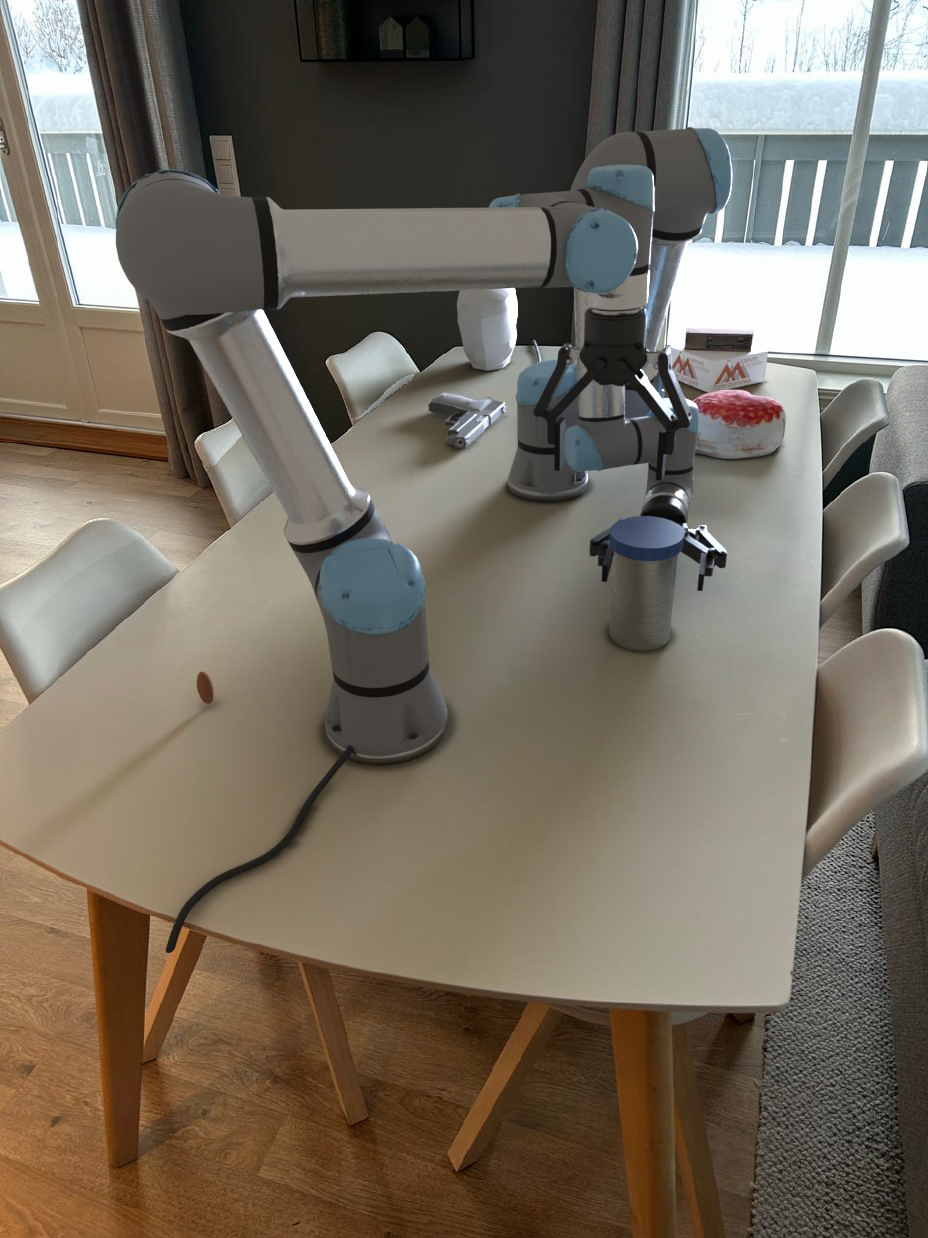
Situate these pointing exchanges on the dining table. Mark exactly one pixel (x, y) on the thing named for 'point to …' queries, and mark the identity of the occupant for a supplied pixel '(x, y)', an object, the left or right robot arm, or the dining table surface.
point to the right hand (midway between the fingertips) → (651, 578)
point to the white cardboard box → (718, 359)
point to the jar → (642, 602)
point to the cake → (738, 424)
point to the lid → (646, 538)
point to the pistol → (466, 416)
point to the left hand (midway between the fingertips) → (609, 471)
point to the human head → (488, 326)
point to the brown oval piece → (205, 687)
